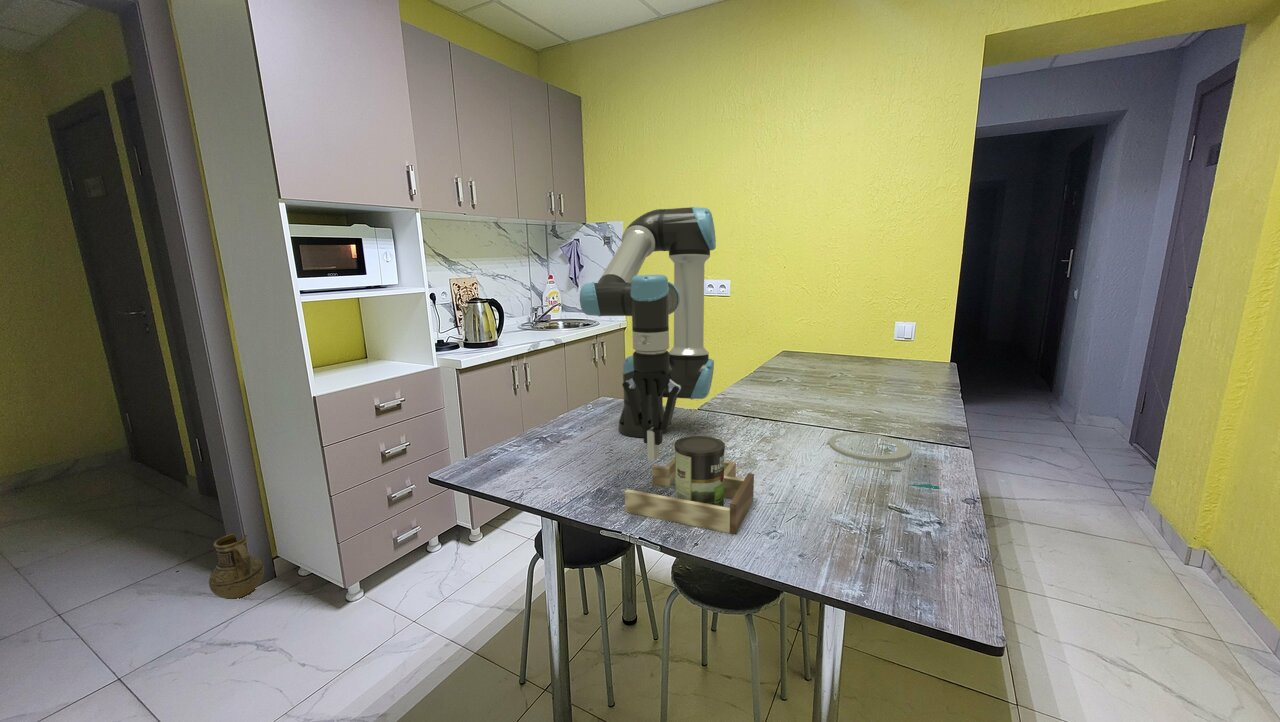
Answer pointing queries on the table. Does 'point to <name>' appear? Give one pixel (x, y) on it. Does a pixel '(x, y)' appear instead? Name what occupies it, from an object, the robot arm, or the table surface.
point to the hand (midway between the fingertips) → (653, 457)
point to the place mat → (899, 455)
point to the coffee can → (700, 469)
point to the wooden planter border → (692, 510)
